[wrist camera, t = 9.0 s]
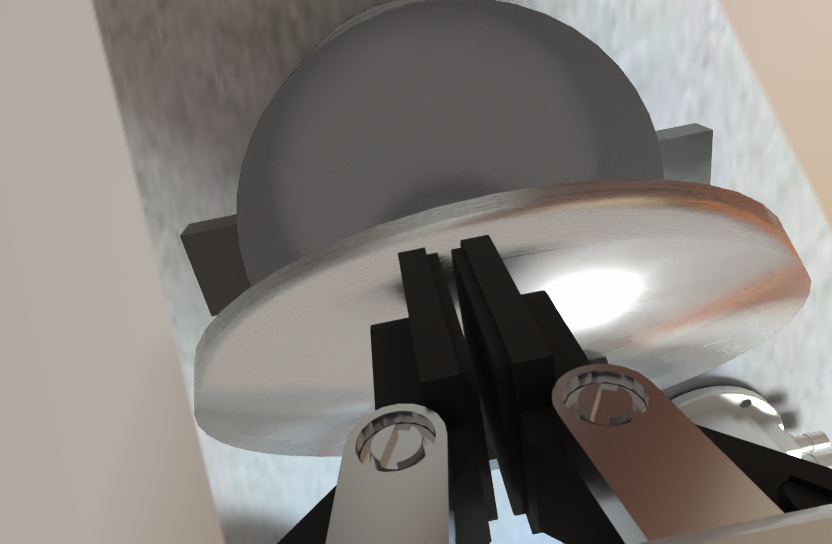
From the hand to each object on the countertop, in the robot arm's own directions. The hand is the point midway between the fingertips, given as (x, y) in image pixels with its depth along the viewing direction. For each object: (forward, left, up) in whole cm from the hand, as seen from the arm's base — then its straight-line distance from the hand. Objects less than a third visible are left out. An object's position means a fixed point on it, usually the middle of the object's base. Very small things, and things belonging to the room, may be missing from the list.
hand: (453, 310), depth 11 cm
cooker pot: (-1, +4, -25) cm, 25 cm away
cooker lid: (-1, +6, -7) cm, 9 cm away
